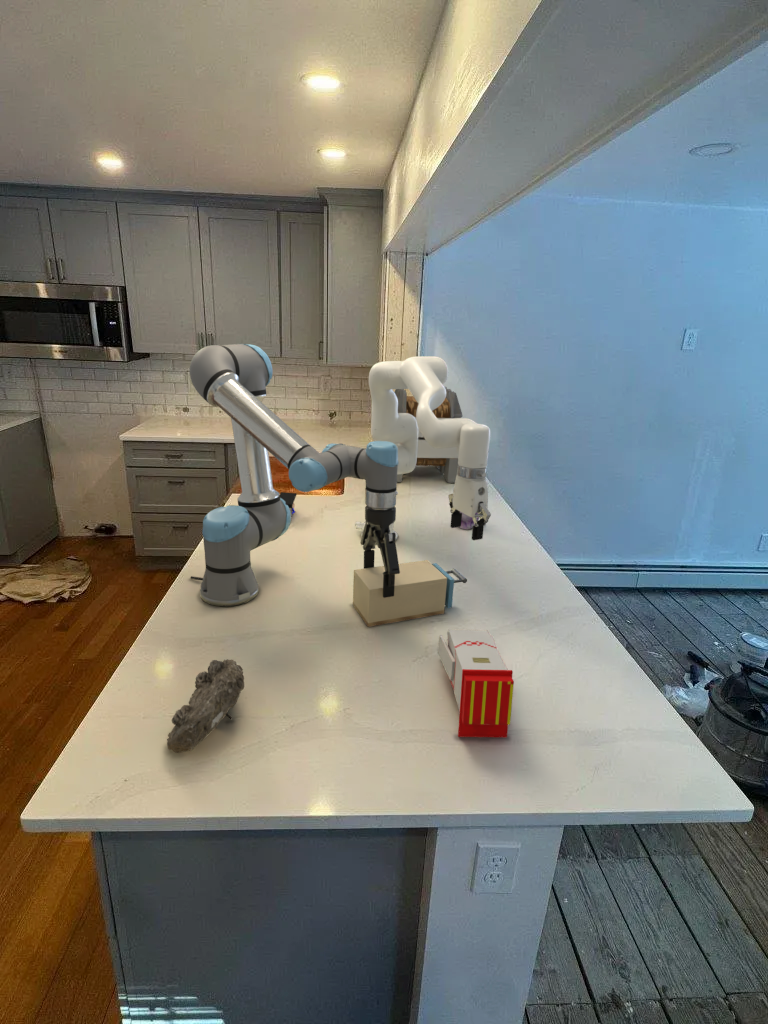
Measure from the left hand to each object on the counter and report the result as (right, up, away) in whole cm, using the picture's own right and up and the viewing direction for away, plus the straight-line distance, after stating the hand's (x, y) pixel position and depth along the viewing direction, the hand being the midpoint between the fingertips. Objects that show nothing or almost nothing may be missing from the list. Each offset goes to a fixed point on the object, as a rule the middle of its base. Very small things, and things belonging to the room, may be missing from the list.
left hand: (378, 584), depth 145 cm
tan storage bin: (+5, -7, +5) cm, 10 cm away
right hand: (+24, +13, +8) cm, 28 cm away
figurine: (+32, +13, +66) cm, 75 cm away
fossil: (-31, -21, -36) cm, 52 cm away
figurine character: (-35, +17, +66) cm, 77 cm away
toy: (+19, -19, -26) cm, 38 cm away
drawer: (+11, -6, +7) cm, 14 cm away
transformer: (+19, +37, +130) cm, 137 cm away
